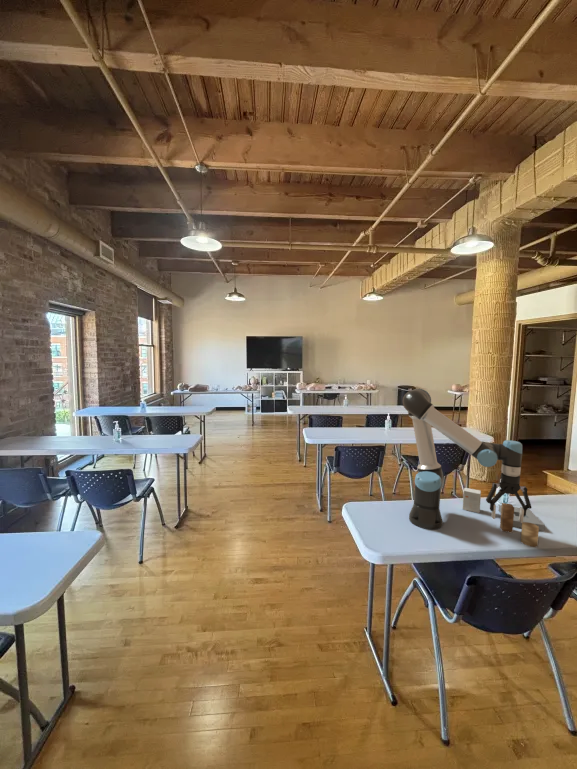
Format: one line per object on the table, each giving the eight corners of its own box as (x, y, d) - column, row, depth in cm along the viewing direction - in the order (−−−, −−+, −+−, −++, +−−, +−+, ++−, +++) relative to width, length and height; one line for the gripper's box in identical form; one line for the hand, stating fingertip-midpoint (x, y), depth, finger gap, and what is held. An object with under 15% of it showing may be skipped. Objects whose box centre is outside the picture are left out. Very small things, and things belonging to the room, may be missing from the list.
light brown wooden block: (523, 545, 146) (524, 527, 145) (518, 538, 152) (520, 521, 151) (539, 547, 144) (541, 529, 144) (534, 540, 150) (535, 523, 149)
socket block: (509, 526, 163) (510, 520, 163) (498, 510, 180) (498, 505, 180) (543, 531, 159) (544, 525, 159) (528, 514, 176) (529, 509, 176)
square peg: (502, 531, 158) (504, 506, 157) (499, 527, 162) (501, 503, 161) (512, 532, 157) (514, 507, 156) (509, 528, 161) (511, 504, 160)
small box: (479, 509, 181) (481, 490, 180) (479, 513, 176) (480, 493, 175) (463, 505, 185) (464, 487, 184) (462, 509, 180) (463, 490, 179)
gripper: (484, 473, 157) (481, 519, 159) (543, 480, 150) (539, 527, 152) (480, 468, 164) (477, 512, 166) (536, 474, 157) (532, 520, 159)
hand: (506, 519), depth 159 cm, fingers open, 11 cm apart
